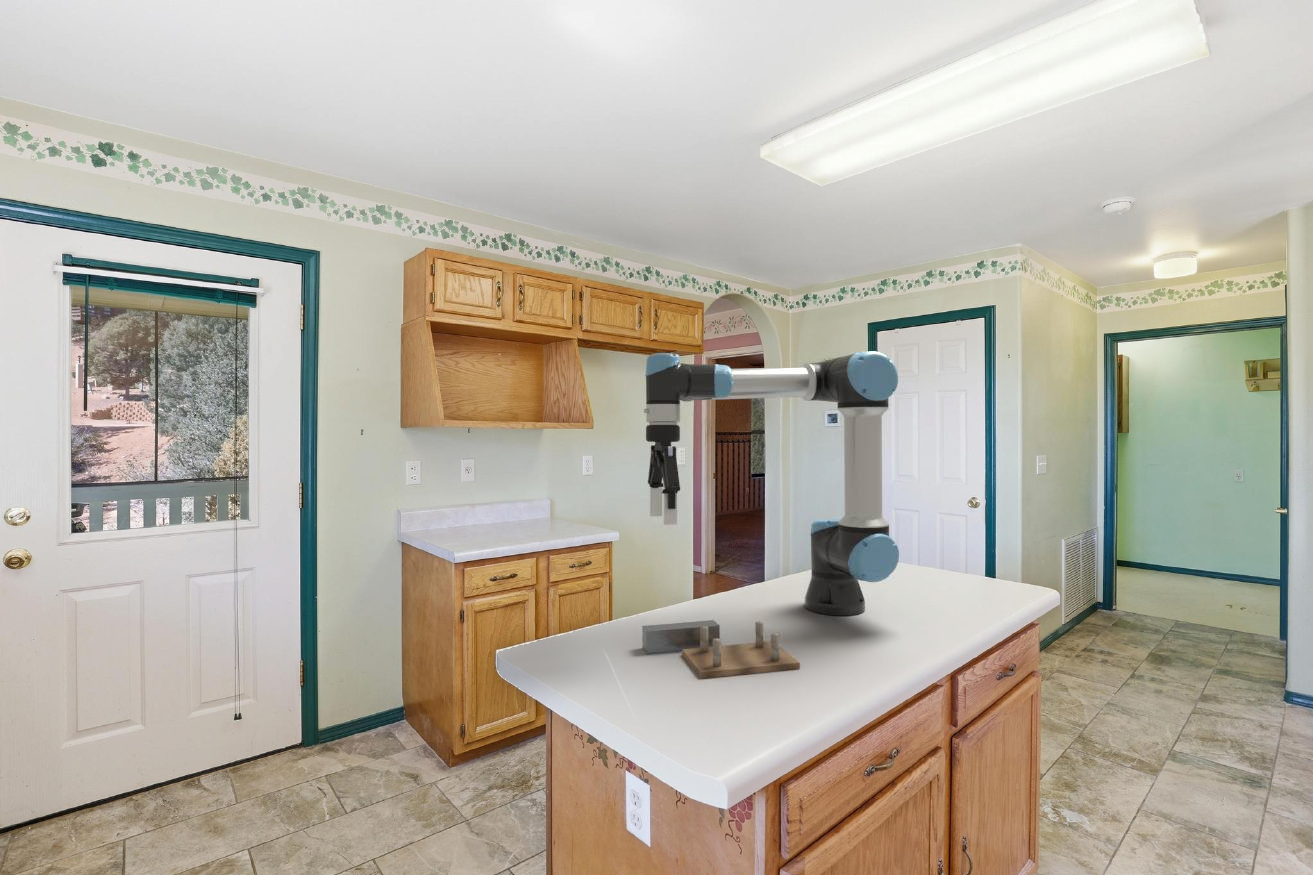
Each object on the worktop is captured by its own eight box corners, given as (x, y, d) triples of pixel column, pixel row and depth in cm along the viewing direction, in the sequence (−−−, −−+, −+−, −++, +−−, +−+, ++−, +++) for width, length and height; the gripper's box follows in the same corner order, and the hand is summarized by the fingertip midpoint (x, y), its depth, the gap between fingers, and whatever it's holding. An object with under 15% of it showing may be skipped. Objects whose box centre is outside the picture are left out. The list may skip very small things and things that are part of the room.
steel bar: (713, 642, 141) (713, 620, 141) (719, 648, 137) (719, 625, 137) (642, 649, 137) (642, 625, 137) (646, 655, 133) (646, 631, 133)
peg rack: (772, 646, 137) (772, 617, 137) (799, 668, 124) (799, 636, 124) (682, 655, 132) (682, 625, 132) (700, 678, 120) (700, 645, 120)
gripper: (635, 424, 153) (635, 513, 154) (659, 423, 129) (659, 528, 129) (666, 424, 155) (666, 512, 155) (695, 423, 131) (694, 527, 131)
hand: (662, 520), depth 142 cm, fingers open, 13 cm apart
